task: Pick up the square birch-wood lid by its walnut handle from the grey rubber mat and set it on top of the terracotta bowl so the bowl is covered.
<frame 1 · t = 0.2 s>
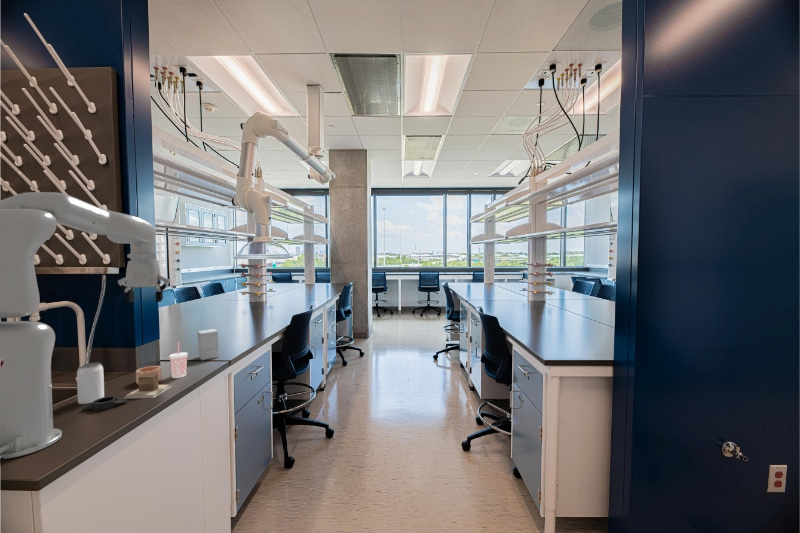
hand: (145, 302, 129), 30 cm above the countertop, tool pointing down, fingers open, 9 cm apart
lid: (148, 392, 118), resting on mat
mat: (148, 393, 118), on the countertop
bowl: (149, 382, 129), on the countertop
black winged knob: (105, 409, 107), on the countertop
supplement box: (208, 357, 160), on the countertop
beverage cup: (179, 377, 134), on the countertop
can: (91, 401, 112), on the countertop
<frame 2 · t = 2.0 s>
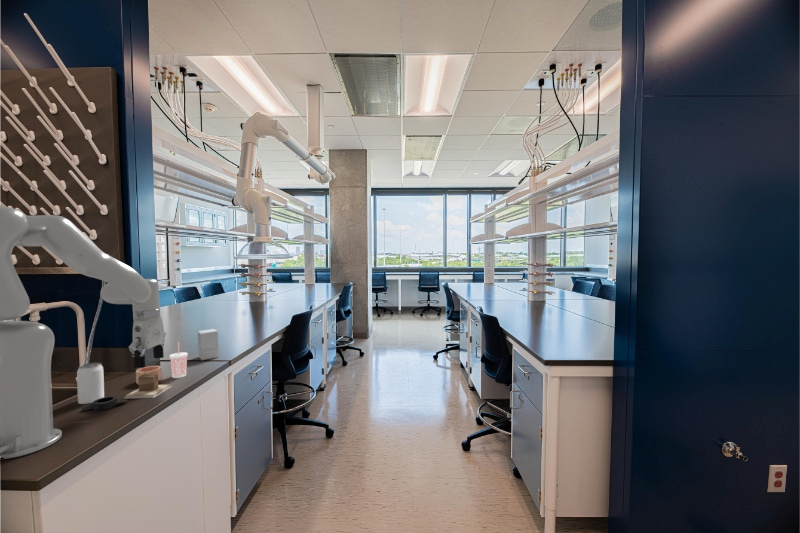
hand: (149, 362, 119), 11 cm above the countertop, tool pointing down, fingers open, 9 cm apart
nothing on the countertop moved.
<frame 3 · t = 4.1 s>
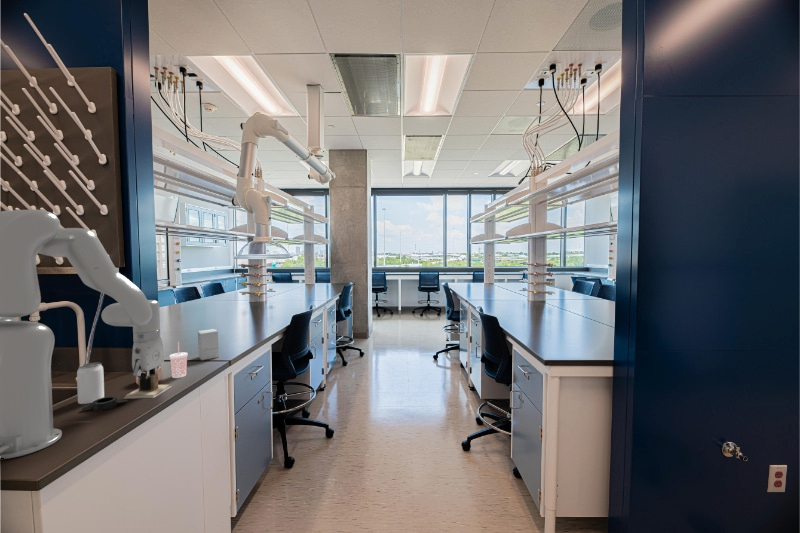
hand: (148, 387, 118), 2 cm above the countertop, tool pointing down, fingers closed on lid
lid: (148, 391, 118), resting on mat, touching gripper
everything else where it was.
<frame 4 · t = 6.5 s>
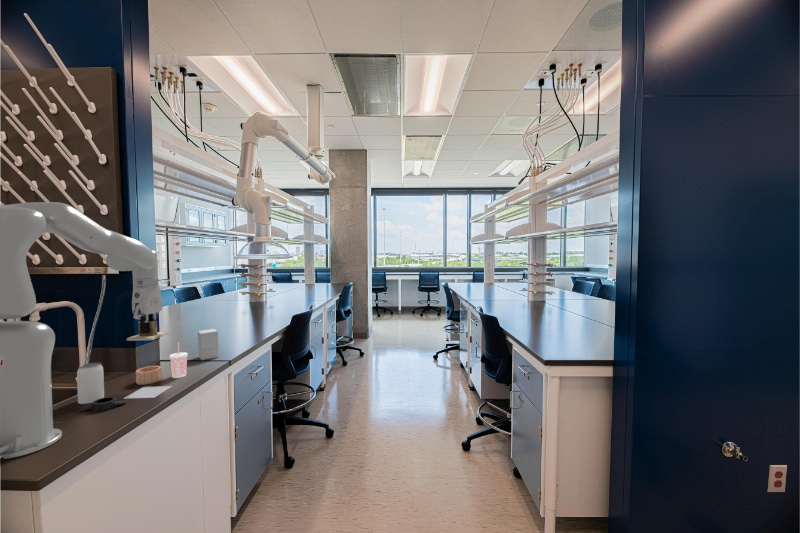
hand: (148, 331, 126), 20 cm above the countertop, tool pointing down, fingers closed on lid
lid: (148, 337, 126), point 18 cm above the countertop, touching gripper
everything else where it was.
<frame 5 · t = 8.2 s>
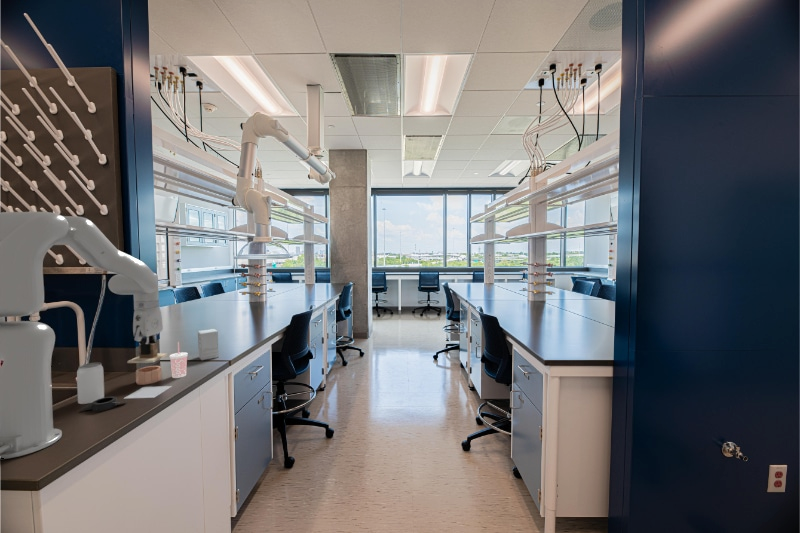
hand: (148, 352, 129), 11 cm above the countertop, tool pointing down, fingers closed on lid
lid: (148, 359, 129), point 9 cm above the countertop, touching gripper
everything else where it was.
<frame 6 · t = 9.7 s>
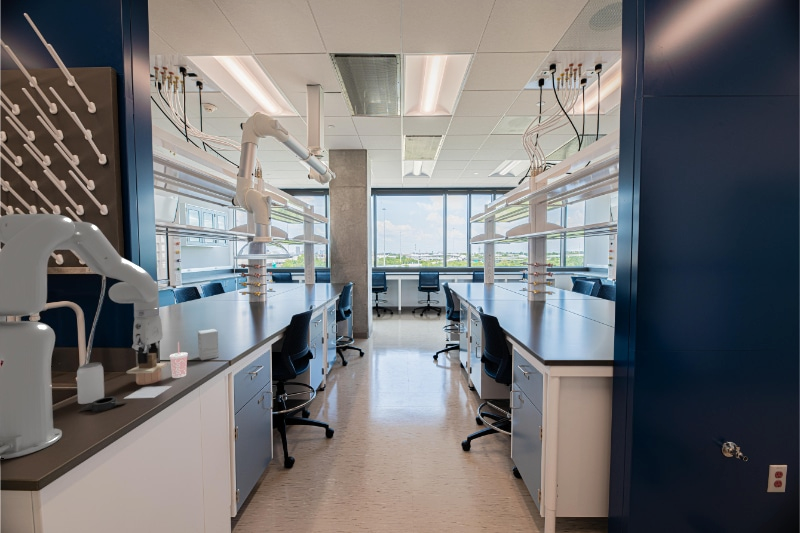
hand: (148, 360, 129), 8 cm above the countertop, tool pointing down, fingers open, 5 cm apart
lid: (147, 369, 129), point 5 cm above the countertop, touching bowl
everything else where it was.
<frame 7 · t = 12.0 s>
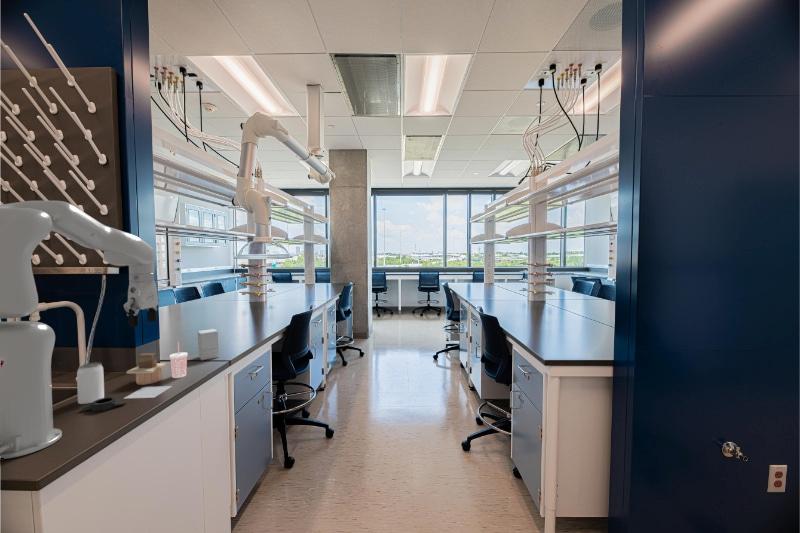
hand: (143, 323, 127), 23 cm above the countertop, tool pointing down, fingers open, 9 cm apart
nothing on the countertop moved.
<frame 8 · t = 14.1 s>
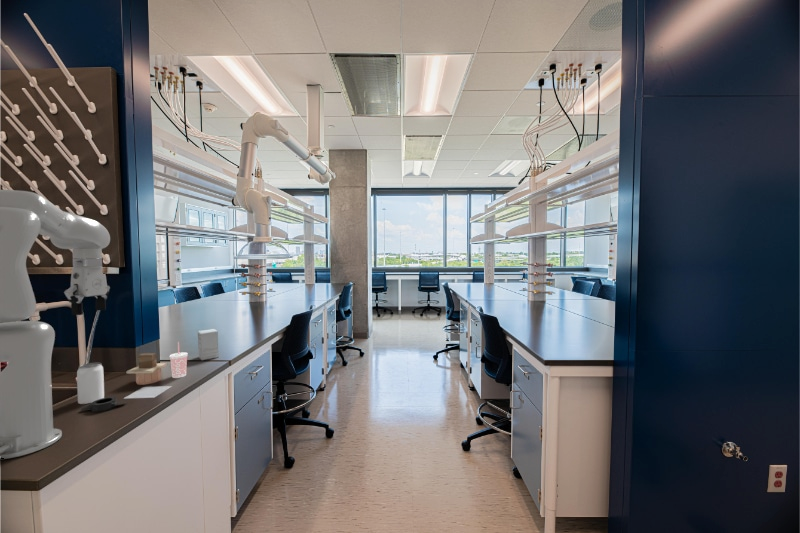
hand: (89, 312, 119), 28 cm above the countertop, tool pointing down, fingers open, 9 cm apart
nothing on the countertop moved.
at the end: lid 0.2 cm off-centre on the bowl, point 5.0 cm above the bowl's base; lid tilted 0°; the gripper is holding nothing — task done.
